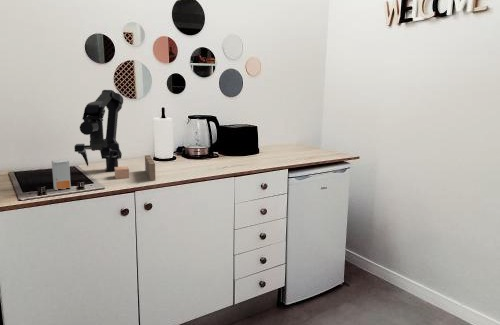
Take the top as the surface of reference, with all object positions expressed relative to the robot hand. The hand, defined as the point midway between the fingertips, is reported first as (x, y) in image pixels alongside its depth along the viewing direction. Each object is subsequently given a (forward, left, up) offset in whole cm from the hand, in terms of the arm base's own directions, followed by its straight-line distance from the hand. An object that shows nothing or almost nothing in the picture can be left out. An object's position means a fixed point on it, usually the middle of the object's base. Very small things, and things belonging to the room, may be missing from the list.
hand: (98, 165), depth 169 cm
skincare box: (+14, -14, -6) cm, 21 cm away
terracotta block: (0, +10, -6) cm, 12 cm away
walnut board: (+1, +23, -6) cm, 24 cm away
